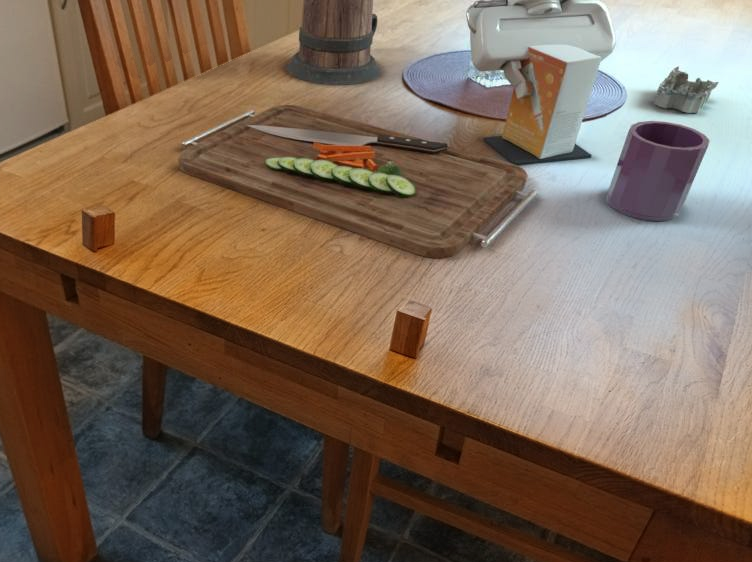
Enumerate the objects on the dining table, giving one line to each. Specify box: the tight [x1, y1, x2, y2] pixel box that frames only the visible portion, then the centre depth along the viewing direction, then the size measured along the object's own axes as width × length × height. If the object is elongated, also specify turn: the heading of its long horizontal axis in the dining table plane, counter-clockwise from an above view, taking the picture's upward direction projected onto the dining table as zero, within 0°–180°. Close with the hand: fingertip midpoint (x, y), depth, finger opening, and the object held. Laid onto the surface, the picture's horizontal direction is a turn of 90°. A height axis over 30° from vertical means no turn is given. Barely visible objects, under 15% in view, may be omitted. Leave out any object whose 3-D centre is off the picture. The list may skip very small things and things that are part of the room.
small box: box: [501, 45, 602, 159], centre depth 98 cm, size 8×6×13 cm
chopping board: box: [178, 104, 538, 259], centre depth 94 cm, size 45×27×3 cm, turn 54°
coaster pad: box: [483, 135, 593, 166], centre depth 103 cm, size 12×9×1 cm
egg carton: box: [653, 66, 719, 114], centre depth 117 cm, size 11×8×4 cm
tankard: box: [286, 0, 381, 86], centre depth 125 cm, size 24×17×20 cm
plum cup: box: [605, 120, 710, 222], centre depth 87 cm, size 9×9×9 cm
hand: (552, 94), depth 97 cm, fingers closed on small box, 7 cm apart
